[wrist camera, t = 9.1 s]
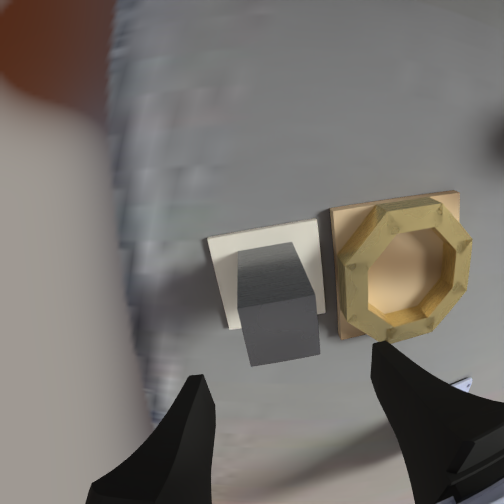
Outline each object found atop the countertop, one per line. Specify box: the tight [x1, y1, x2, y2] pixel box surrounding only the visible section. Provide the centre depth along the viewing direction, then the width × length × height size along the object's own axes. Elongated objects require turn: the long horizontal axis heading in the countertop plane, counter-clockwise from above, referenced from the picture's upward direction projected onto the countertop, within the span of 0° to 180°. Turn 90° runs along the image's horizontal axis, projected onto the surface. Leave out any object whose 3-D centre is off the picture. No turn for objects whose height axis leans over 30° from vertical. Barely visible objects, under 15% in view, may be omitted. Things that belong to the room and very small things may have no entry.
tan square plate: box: [330, 190, 460, 340], centre depth 22 cm, size 10×10×1 cm
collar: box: [337, 197, 472, 344], centre depth 20 cm, size 10×10×2 cm
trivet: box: [207, 218, 325, 330], centre depth 22 cm, size 7×7×1 cm
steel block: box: [237, 242, 320, 367], centre depth 18 cm, size 4×4×7 cm
